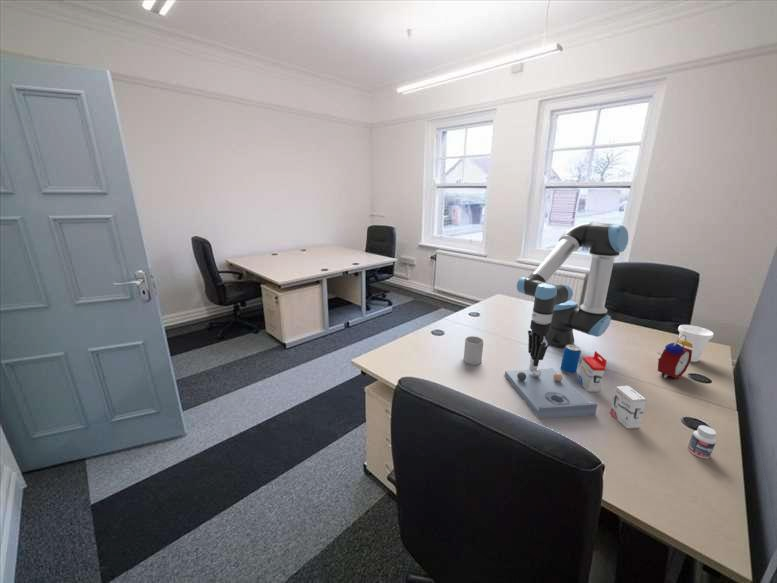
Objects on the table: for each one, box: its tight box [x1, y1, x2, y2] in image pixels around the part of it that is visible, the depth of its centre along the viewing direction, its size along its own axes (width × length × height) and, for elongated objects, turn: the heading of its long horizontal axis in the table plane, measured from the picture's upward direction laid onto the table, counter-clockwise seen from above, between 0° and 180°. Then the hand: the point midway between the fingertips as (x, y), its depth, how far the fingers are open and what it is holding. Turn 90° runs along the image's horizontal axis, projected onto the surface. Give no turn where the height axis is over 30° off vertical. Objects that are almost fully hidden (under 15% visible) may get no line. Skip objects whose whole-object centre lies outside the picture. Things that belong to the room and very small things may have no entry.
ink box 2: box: [577, 351, 607, 393], centre depth 134 cm, size 8×5×15 cm, turn 178°
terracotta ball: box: [553, 372, 564, 381], centre depth 135 cm, size 4×4×4 cm
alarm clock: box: [657, 335, 693, 379], centre depth 142 cm, size 15×9×20 cm, turn 118°
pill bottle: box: [687, 424, 717, 459], centre depth 101 cm, size 5×5×9 cm
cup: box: [677, 324, 715, 363], centre depth 156 cm, size 12×12×15 cm
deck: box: [504, 367, 598, 419], centre depth 130 cm, size 28×22×4 cm
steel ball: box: [532, 368, 541, 378], centre depth 137 cm, size 4×4×4 cm
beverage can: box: [560, 344, 582, 375], centre depth 145 cm, size 6×6×12 cm
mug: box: [463, 335, 484, 366], centre depth 156 cm, size 12×8×11 cm
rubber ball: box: [517, 372, 526, 381], centre depth 135 cm, size 4×4×4 cm
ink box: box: [609, 385, 647, 429], centre depth 114 cm, size 9×5×12 cm, turn 5°
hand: (532, 370), depth 140 cm, fingers closed
